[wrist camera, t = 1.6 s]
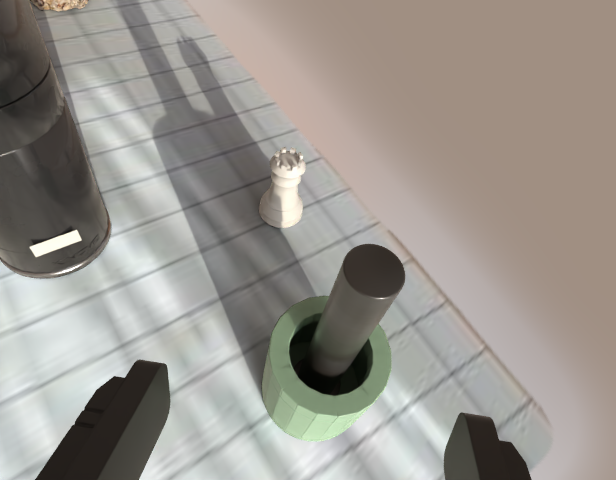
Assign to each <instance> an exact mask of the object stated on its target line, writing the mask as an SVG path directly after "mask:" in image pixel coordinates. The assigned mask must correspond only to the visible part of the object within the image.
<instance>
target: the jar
mask: <svg viewBox="0 0 616 480" xmlns="http://www.w3.org/2000/svg"><path fill="white" fill-rule="evenodd" d="M328 298H329V296H319V297H312V298H309V299H305V300H303V301H301V302H299V303H297V304H295V305H293V306H292V307H290V308H289V309H288V310H287V311H286V312H285V313H284V314H283V315H282V316H281V317H280V318H279V320H278V322H277V324H276V326H275V328H274V329H273V331H272V334H271V338H270V343H269V348H268V353H267V357H266V362H265V367H264V373H263V379H262V396H263V401H264V404H265V407H266V409H267V411H268V413H269V415H270V417H271V418H272V420H273V421H274V422H275V423H276V424H277V426H278V427H280V428H281V429H282V430H283V431H284V432H286V433H287V434H289V435H291V436H293V437H295V438H298V439H301V440H305V441H324V440H328V439H331V438H333V437H336V436H337V435H339V434H341V433H342V432H343V431H345V430H346V429H348V428H349V427H350V426H351V425H352V424H353V423H354V422H355V421H356V420H357V419H358V418H359V417H360V416H361V415H362V414H363V413H364V412H365V411H366V410H367V409H368V408H369V407H370V406H371V405H372V404H373V403H374V402H375V401H376V400H377V399H378V397H379V396H380V395H381V393H382V392H383V391H384V389H385V387H386V385H387V382H388V379H389V376H390V373H391V349H390V346H389V343H388V340H387V337H386V334H385V332H384V331H383V329H382V328H381V326H380V325H379V323H378V325H377V326H376V328H375V329H374V331H373V332H372V334H371V335H370V337H369V338H368V339H367V341H366V342H365V344H364V345H363V347H362V348H361V350H360V351H359V353H358V354H357V356H356V357H355V359H354V360H353V362H352V363H351V365H350V366H349V368H348V369H347V371H346V372H345V374H344V375H343V376H342V378H341V379H340V380H341V386H340V391H339V394H338V395H328V394H322V393H320V392H318V391H315V390H313V389H311V388H309V387H308V386H307V385H306V384H304V383H303V382H302V381H301V380H300V379H299V378H298V376H297V374H296V373H295V371H294V369H293V368H294V366H295V365H296V364H297V363H298V362H299V361H300V360H302V359H304V357H305V355H306V352H307V350H308V347H309V345H310V342H311V340H312V337H313V335H314V332H315V330H316V328H317V325H318V323H319V320H320V318H321V315H322V313H323V310H324V308H325V305H326V303H327V300H328Z"/></svg>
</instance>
